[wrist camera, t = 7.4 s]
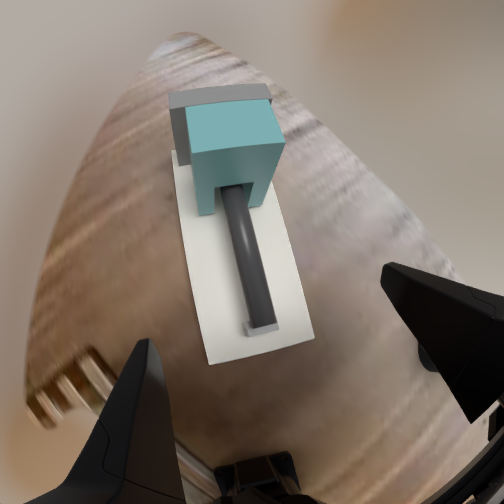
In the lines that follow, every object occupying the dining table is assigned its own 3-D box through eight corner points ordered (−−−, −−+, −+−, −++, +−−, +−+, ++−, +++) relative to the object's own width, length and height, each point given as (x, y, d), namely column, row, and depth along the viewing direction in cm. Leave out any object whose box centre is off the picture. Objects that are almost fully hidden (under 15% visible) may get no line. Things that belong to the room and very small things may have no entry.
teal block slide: (308, 338, 21) (360, 339, 13) (209, 362, 19) (205, 384, 11) (255, 148, 25) (271, 82, 17) (173, 160, 24) (161, 93, 16)
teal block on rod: (262, 204, 21) (285, 142, 14) (198, 215, 20) (191, 153, 13) (251, 167, 22) (267, 99, 15) (192, 176, 21) (185, 107, 14)
